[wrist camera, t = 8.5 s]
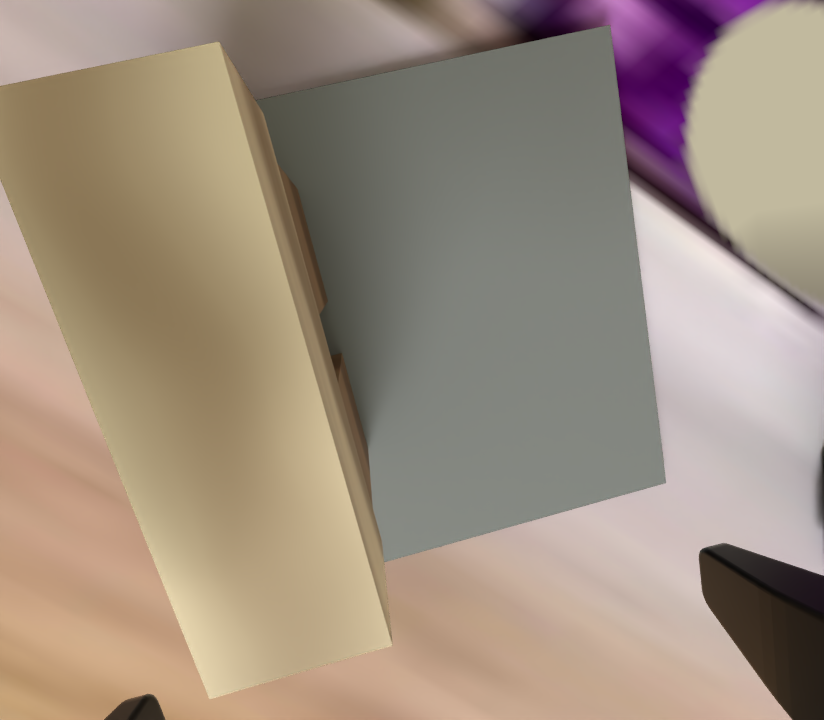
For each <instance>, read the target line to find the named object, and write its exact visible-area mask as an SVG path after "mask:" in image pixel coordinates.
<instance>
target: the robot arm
mask: <svg viewBox="0 0 824 720" xmlns="http://www.w3.org/2000/svg"><path fill="white" fill-rule="evenodd" d="M699 564H700V574H701V584H702V592H703V596H704V598H705V601H706V603H707V605H708V606H709V608H710V609H711V611H712V612H713V614H714V615H715V616H716V618H717V619H718V620H719V622H720V623H721V625H722V626H723V627H724V629H725V630H726V632H727V633H728V634H729V636H730V637H731V638H732V640H733V641H734V643H735V644H736V645H737V647H738V648H739V650H740V651H741V652H742V654H743V655H744V657H745V658H746V659H747V661H748V662H749V663H750V665H751V666H752V668H753V669H754V670H755V672H756V673H757V675H758V676H759V677H760V679H761V680H762V681H763V683H764V684H765V686H766V687H767V688H768V690H769V691H770V692H771V693H772V695H773V696H774V697H775V699H776V700H777V701H778V703H779V704H780V705H781V706H782V707H783V709H784V710H785V711H786V712H787V713H788V715H789V716H790V717H791V718H792V720H824V576H823V575H820V574H817V573H814V572H811V571H808V570H805V569H802V568H799V567H796V566H793V565H790V564H787V563H784V562H781V561H778V560H775V559H772V558H769V557H766V556H763V555H760V554H757V553H754V552H751V551H748V550H745V549H742V548H739V547H736V546H733V545H730V544H725V543H722V544H717V545H714V546H710V547H706V548H703V549H702V550H701V551H700V553H699ZM104 720H165V717H164V715H163V712H162V710H161V707H160V705H159V702H158V700H157V698H156V697H155V696H154V695H152V694H146V695H142V696H138V697H135V698H131V699H128V700H125V701H124V702H122V703H121V704H120V705H119V706H118V707H117V708H116V709H115V710H114V711H113V712H112V713H111V714H109V715H108V716H107V717H106V718H105V719H104Z"/></svg>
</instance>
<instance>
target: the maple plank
mask: <svg viewBox="0 0 824 720" xmlns="http://www.w3.org/2000/svg"><path fill="white" fill-rule="evenodd" d="M0 180H1V182H2V185H3V187H4V190H5V192H6V195H7V197H8V200H9V202H10V205H11V207H12V210H13V212H14V215H15V217H16V219H17V222H18V224H19V227H20V229H21V232H22V234H23V237H24V239H25V242H26V244H27V247H28V249H29V252H30V254H31V257H32V259H33V262H34V264H35V267H36V269H37V272H38V274H39V277H40V279H41V282H42V284H43V287H44V289H45V292H46V294H47V297H48V299H49V301H50V304H51V306H52V309H53V311H54V314H55V316H56V319H57V321H58V324H59V326H60V329H61V331H62V334H63V336H64V339H65V341H66V344H67V346H68V349H69V351H70V354H71V356H72V359H73V361H74V364H75V366H76V369H77V371H78V374H79V376H80V379H81V381H82V384H83V386H84V388H85V391H86V393H87V396H88V398H89V401H90V403H91V406H92V408H93V411H94V413H95V416H96V418H97V421H98V423H99V426H100V428H101V431H102V433H103V436H104V438H105V441H106V443H107V446H108V448H109V451H110V453H111V456H112V458H113V461H114V463H115V466H116V468H117V470H118V473H119V475H120V478H121V480H122V483H123V485H124V488H125V490H126V493H127V495H128V498H129V500H130V503H131V505H132V508H133V510H134V513H135V515H136V518H137V520H138V523H139V525H140V528H141V530H142V533H143V535H144V538H145V540H146V543H147V545H148V548H149V550H150V552H151V555H152V557H153V560H154V562H155V565H156V567H157V570H158V572H159V575H160V577H161V580H162V582H163V585H164V587H165V590H166V592H167V595H168V597H169V600H170V602H171V605H172V607H173V610H174V612H175V615H176V617H177V620H178V622H179V625H180V627H181V630H182V632H183V634H184V637H185V639H186V642H187V644H188V647H189V649H190V652H191V654H192V657H193V659H194V662H195V664H196V667H197V669H198V672H199V674H200V677H201V679H202V682H203V684H204V687H205V689H206V692H207V694H208V697H209V699H212V698H216V697H219V696H223V695H226V694H229V693H233V692H236V691H240V690H243V689H246V688H250V687H253V686H257V685H260V684H263V683H267V682H270V681H274V680H277V679H280V678H284V677H287V676H291V675H294V674H298V673H301V672H304V671H308V670H311V669H315V668H318V667H321V666H325V665H328V664H332V663H335V662H338V661H342V660H345V659H349V658H352V657H355V656H359V655H362V654H366V653H369V652H373V651H376V650H379V649H383V648H386V647H390V646H392V636H391V626H390V616H389V606H388V596H387V586H386V576H385V566H384V556H383V546H382V540H381V536H380V532H379V529H378V525H377V522H376V518H375V514H374V511H373V507H372V504H371V500H370V496H369V493H368V489H367V486H366V482H365V478H364V475H363V471H362V467H361V464H360V460H359V457H358V453H357V449H356V446H355V442H354V439H353V435H352V431H351V428H350V424H349V421H348V417H347V413H346V410H345V406H344V402H343V399H342V395H341V392H340V388H339V384H338V381H337V377H336V374H335V370H334V366H333V363H332V359H331V356H330V352H329V348H328V345H327V341H326V337H325V334H324V330H323V327H322V323H321V319H320V316H319V312H318V309H317V305H316V301H315V298H314V294H313V290H312V287H311V283H310V280H309V276H308V272H307V269H306V265H305V262H304V258H303V254H302V251H301V247H300V244H299V240H298V236H297V233H296V229H295V225H294V222H293V218H292V215H291V211H290V207H289V204H288V200H287V197H286V193H285V189H284V186H283V182H282V179H281V175H280V171H279V168H278V164H277V160H276V157H275V153H274V150H273V146H272V142H271V139H270V135H269V132H268V128H267V124H266V121H265V117H264V114H263V112H262V111H261V109H260V107H259V106H258V104H257V102H256V101H255V99H254V98H253V96H252V94H251V93H250V91H249V89H248V88H247V86H246V85H245V83H244V81H243V80H242V78H241V76H240V75H239V73H238V72H237V70H236V68H235V67H234V65H233V63H232V62H231V60H230V59H229V57H228V55H227V54H226V52H225V50H224V49H223V47H222V46H221V44H220V42H214V43H209V44H204V45H200V46H195V47H190V48H185V49H180V50H175V51H170V52H165V53H160V54H155V55H150V56H146V57H141V58H136V59H131V60H126V61H121V62H116V63H111V64H106V65H101V66H96V67H92V68H87V69H82V70H77V71H72V72H67V73H62V74H57V75H52V76H47V77H42V78H38V79H33V80H28V81H23V82H18V83H13V84H8V85H3V86H0Z"/></svg>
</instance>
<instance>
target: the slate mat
mask: <svg viewBox="0 0 824 720" xmlns="http://www.w3.org/2000/svg"><path fill="white" fill-rule="evenodd" d="M255 101H256V102H257V104H258V106H259V107H260V109H261V111H262V112H263V114H264V117H265V121H266V124H267V128H268V132H269V135H270V139H271V142H272V146H273V150H274V153H275V157H276V160H277V164H278V165H279V166H280V167H281V169H282V170H283V171H284V173H285V174H286V175H287V176H288V178H289V179H290V180H291V181H292V183H293V184H294V185H295V186H296V188H297V189H298V193H299V196H300V200H301V204H302V207H303V211H304V215H305V218H306V222H307V226H308V230H309V233H310V237H311V241H312V244H313V248H314V252H315V255H316V259H317V263H318V266H319V270H320V274H321V277H322V281H323V285H324V288H325V292H326V296H327V300H328V302H327V303H326V305H325V307H324V308H323V310H322V311H321V313H320V315H319V316H320V319H321V323H322V327H323V330H324V334H325V337H326V341H327V345H328V348H329V352H330V356H332V355H336V354H340V353H342V355H343V358H344V362H345V366H346V370H347V373H348V377H349V381H350V384H351V388H352V392H353V395H354V399H355V403H356V406H357V410H358V414H359V417H360V421H361V425H362V428H363V432H364V436H365V440H366V443H367V447H368V453H369V466H370V479H371V492H372V505H373V511H374V514H375V518H376V522H377V525H378V529H379V532H380V536H381V540H382V546H383V556H384V562H387V561H390V560H394V559H398V558H401V557H405V556H408V555H412V554H415V553H419V552H422V551H426V550H429V549H433V548H437V547H440V546H444V545H447V544H451V543H454V542H458V541H461V540H465V539H469V538H472V537H476V536H479V535H483V534H486V533H490V532H493V531H497V530H500V529H504V528H508V527H511V526H515V525H518V524H522V523H525V522H529V521H532V520H536V519H540V518H543V517H547V516H550V515H554V514H557V513H561V512H564V511H568V510H572V509H575V508H579V507H582V506H586V505H589V504H593V503H596V502H600V501H603V500H607V499H611V498H614V497H618V496H621V495H625V494H628V493H632V492H635V491H639V490H643V489H646V488H650V487H653V486H657V485H660V484H664V483H666V478H665V470H664V461H663V453H662V445H661V437H660V429H659V420H658V412H657V404H656V396H655V388H654V380H653V371H652V363H651V355H650V347H649V339H648V331H647V322H646V314H645V306H644V298H643V290H642V281H641V273H640V265H639V257H638V249H637V241H636V232H635V224H634V216H633V208H632V200H631V191H630V183H629V175H628V167H627V159H626V151H625V142H624V134H623V126H622V118H621V110H620V102H619V93H618V85H617V77H616V69H615V61H614V52H613V44H612V36H611V28H610V25H607V26H602V27H598V28H593V29H588V30H583V31H579V32H574V33H569V34H565V35H560V36H555V37H551V38H546V39H541V40H537V41H532V42H527V43H522V44H518V45H513V46H508V47H504V48H499V49H494V50H490V51H485V52H480V53H476V54H471V55H466V56H461V57H457V58H452V59H447V60H443V61H438V62H433V63H429V64H424V65H419V66H415V67H410V68H405V69H401V70H396V71H391V72H386V73H382V74H377V75H372V76H368V77H363V78H358V79H354V80H349V81H344V82H340V83H335V84H330V85H325V86H321V87H316V88H311V89H307V90H302V91H297V92H293V93H288V94H283V95H279V96H274V97H269V98H264V99H260V100H255Z"/></svg>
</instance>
